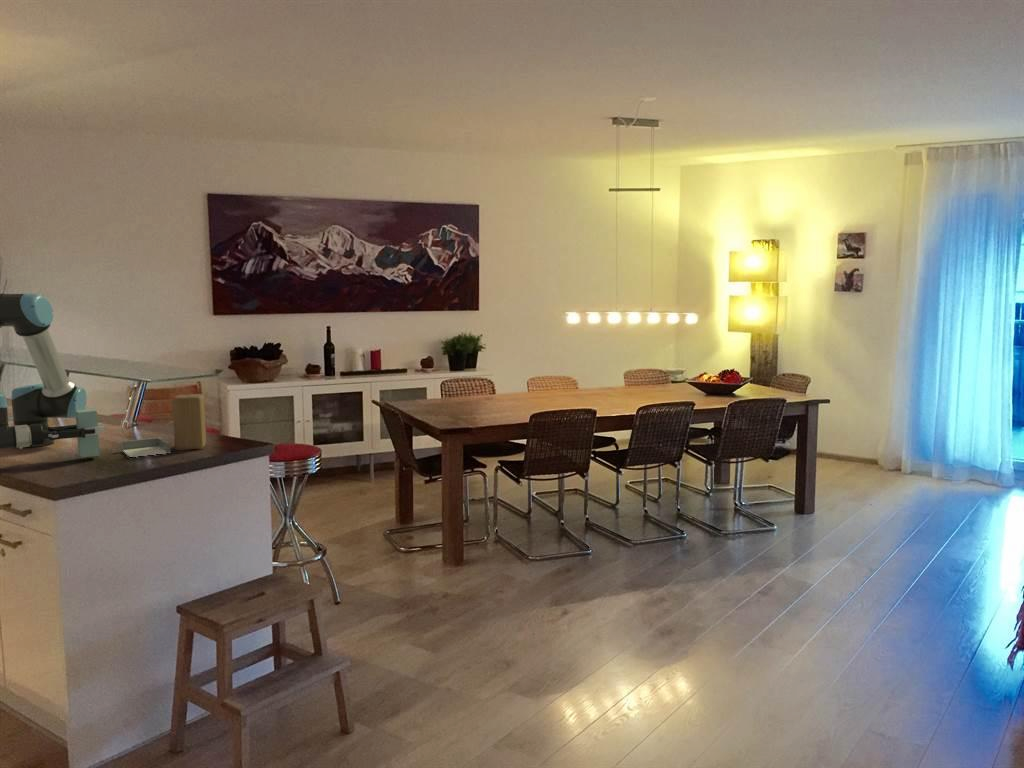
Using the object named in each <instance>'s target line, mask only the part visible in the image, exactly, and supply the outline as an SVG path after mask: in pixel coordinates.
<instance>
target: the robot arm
mask: <svg viewBox="0 0 1024 768" xmlns="http://www.w3.org/2000/svg"><path fill="white" fill-rule="evenodd" d="M53 311H54V310H53V306H52V304H51V302H50V300H49V299H48V298H47V297H46V296H45V295H42V294H40V293H32V292H27V293H0V329H1V328H3V327H12V328H13V330H14V332H15V334H16V335H17V336H19V337H22V338H23V341H24V343H25V345H26V347H27V349H28V352H29V355H30V357H31V359H32V361H33V363H34V366H35V368H36V371H37V373H38V374H39V377H40V380H41V382H42V383H38V384H37V383H35V384H31V385H24V386H19V387H14V388H13V389H12V390H11V397H10V398H11V400H10V401H11V408H12V419H13V420H12V421H13V425H11V426H9V416H8V415H9V413H8V400H7V396H6V393H4V392H3V391H0V450H2V451H3V450H8V449H20V450H22V449H24V448H26V447H29V448H36V447H37V448H38V447H44V446H48V445H49V444H50V445H53V444H54V443H55V440H57V441H58V440H65V439H73V438H74V439H75V438H76V439H77V437H83V438H85V436H87V435H97V434H98V435H106V426H105V425H103V424H102V422H99V423H98V427H88V428H84V429H83V428H82V429H77V425H76V424H70V425H69V424H68V425H61V426H59V425H58V426H50V424H49V422H48V421H49V419H51V418H52V419H55V418H56V419H62V418H63V419H65V418H66V419H71V418H76V411H75V410H85V409H86V407H87V401H88V395H87V392H86V390H85V389H84V388H83V387H80V386H79V387H77V386H76V383H75V381H74V380H73V379H71V378H70V377H68V375H67V373H66V370H65V367H64V365H63V363H62V360H61V357H60V355H59V352H58V351H57V348H56V345H55V343H54V340H53V339H52V335H51V333H50V331H49V329H50V327H51V324H52V322H53V319H54V314H53ZM52 443H53V444H52ZM50 445H49V446H50ZM26 449H27V448H26Z"/></svg>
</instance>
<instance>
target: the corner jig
mask: <svg viewBox="0 0 1024 768" xmlns="http://www.w3.org/2000/svg"><path fill="white" fill-rule="evenodd" d="M122 451H123V452H124V453H125V454H126V455H127V456H126V455H125V454H124V453H123V452H122ZM121 452H122V453H123V454H124V455H125V456H126V457H128V456H129V457H136V458H139V457H138V456H145V457H148V456H147V455H154V456H157V455H156V454H163V455H167V454H166V453H171V442H169V441H168V440H166V439H165V438H163V437H162V436H159V437H150V438H140V439H139V438H137V439H130V440H122V441H121ZM129 457H128V458H129Z"/></svg>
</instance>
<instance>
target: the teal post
mask: <svg viewBox="0 0 1024 768" xmlns="http://www.w3.org/2000/svg"><path fill="white" fill-rule="evenodd" d="M75 411H76V417H75V422H76V424H75V425H77V429H82V428H83V429H84V428H88V427H98V411H97V410H96V409H95V408H88V409H87V408H85V410H75ZM76 439H77V452H78V456H80V458H86V457H87V458H88V457H96V456H100V438H99V434H97V435H87V436H85V438H83V437H77V438H76Z"/></svg>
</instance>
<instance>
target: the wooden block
mask: <svg viewBox="0 0 1024 768" xmlns="http://www.w3.org/2000/svg"><path fill="white" fill-rule="evenodd" d="M171 403H172V416H173V418H172V419H173V435H174V436H173V437H174V439H173V440H174V448H175V451H191V449H198V450H202V449H203V448H204V447H205V446H206V444H207V435H206V434H207V429H206V411H205V410H206V409H205V396H204V394H202V393H191V394H189V393H188V394H178V395H176V396H174V397H173V398H172V401H171ZM189 449H190V450H189Z"/></svg>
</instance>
